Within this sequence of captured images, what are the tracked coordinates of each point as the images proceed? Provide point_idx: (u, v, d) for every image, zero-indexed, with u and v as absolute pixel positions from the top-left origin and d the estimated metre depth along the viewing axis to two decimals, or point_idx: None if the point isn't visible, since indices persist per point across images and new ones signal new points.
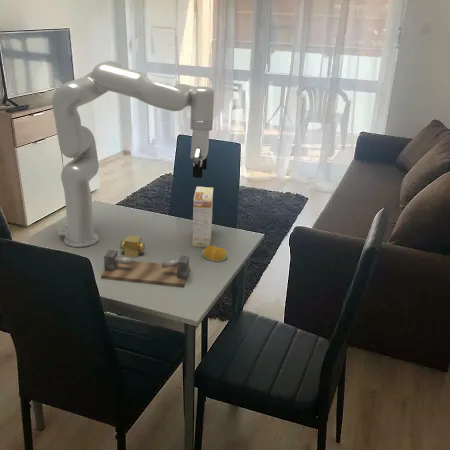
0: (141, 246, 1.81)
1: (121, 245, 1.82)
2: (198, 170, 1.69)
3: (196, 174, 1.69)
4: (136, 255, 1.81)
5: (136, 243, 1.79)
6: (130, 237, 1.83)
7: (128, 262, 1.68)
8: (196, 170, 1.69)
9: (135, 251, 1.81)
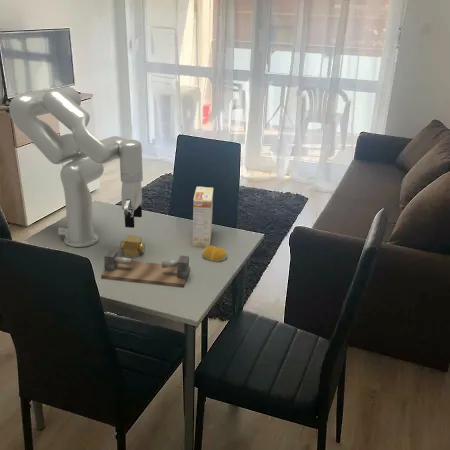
0: (141, 246, 1.81)
1: (121, 245, 1.82)
2: (129, 220, 1.72)
3: (128, 224, 1.73)
4: (136, 255, 1.81)
5: (136, 243, 1.79)
6: (130, 237, 1.83)
7: (128, 262, 1.68)
8: (127, 220, 1.72)
9: (135, 251, 1.81)
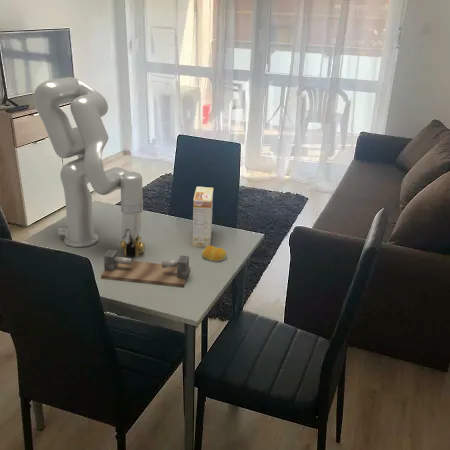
0: (141, 246, 1.81)
1: (121, 245, 1.82)
2: (131, 250, 1.79)
3: (129, 253, 1.80)
4: (136, 255, 1.81)
5: (136, 243, 1.79)
6: (130, 237, 1.82)
7: (128, 262, 1.68)
8: (129, 250, 1.79)
9: (135, 251, 1.81)
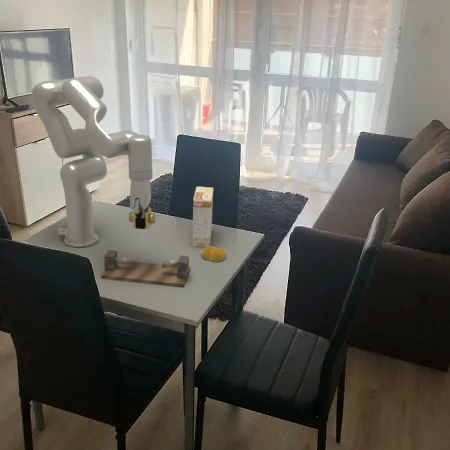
0: (152, 217, 1.66)
1: (130, 217, 1.66)
2: (140, 221, 1.64)
3: (138, 225, 1.65)
4: (146, 227, 1.66)
5: (146, 213, 1.64)
6: (139, 208, 1.67)
7: (128, 262, 1.68)
8: (138, 222, 1.64)
9: (145, 222, 1.65)
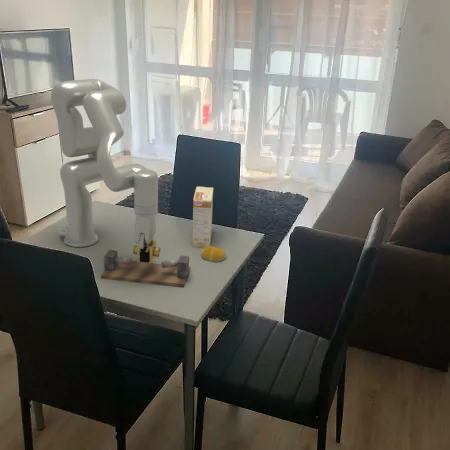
0: (156, 251, 1.65)
1: (134, 250, 1.66)
2: (144, 255, 1.63)
3: (143, 259, 1.64)
4: (151, 261, 1.65)
5: (151, 248, 1.63)
6: (144, 241, 1.67)
7: (128, 262, 1.68)
8: (142, 255, 1.63)
9: (150, 256, 1.65)
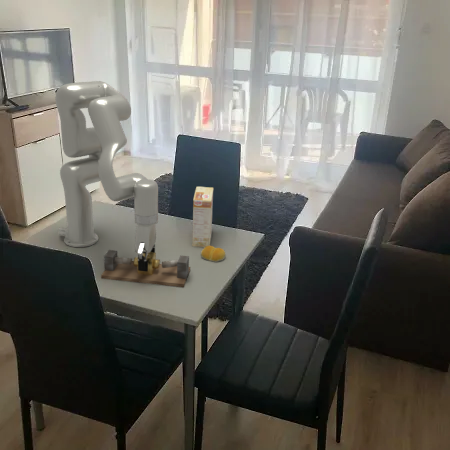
0: (156, 263, 1.67)
1: (134, 262, 1.68)
2: (143, 264, 1.63)
3: (141, 268, 1.63)
4: (151, 273, 1.67)
5: (151, 260, 1.65)
6: None
7: (128, 262, 1.68)
8: (141, 264, 1.63)
9: (150, 268, 1.67)
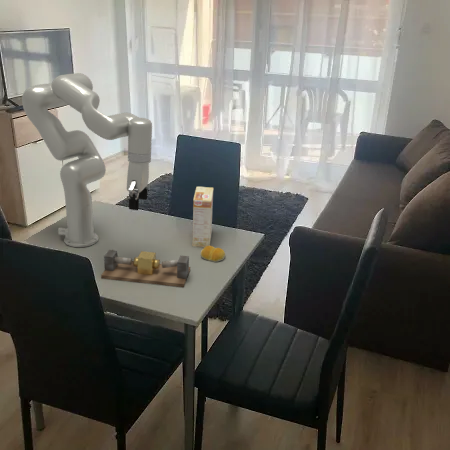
0: (156, 263, 1.67)
1: (134, 262, 1.68)
2: (134, 203, 1.64)
3: (132, 206, 1.65)
4: (151, 273, 1.67)
5: (151, 260, 1.65)
6: (144, 253, 1.69)
7: (128, 262, 1.68)
8: (132, 202, 1.64)
9: (150, 268, 1.67)
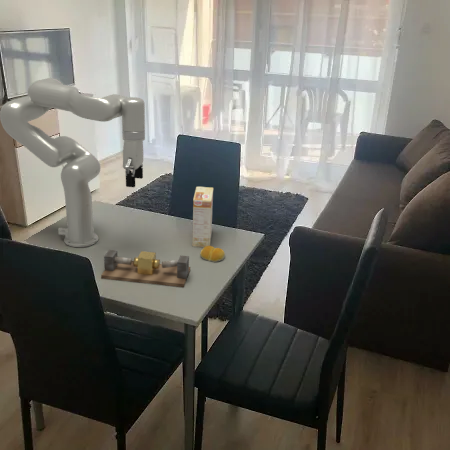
0: (156, 263, 1.67)
1: (134, 262, 1.68)
2: (130, 180, 1.71)
3: (129, 183, 1.71)
4: (151, 273, 1.67)
5: (151, 260, 1.65)
6: (144, 253, 1.69)
7: (128, 262, 1.68)
8: (128, 180, 1.71)
9: (150, 268, 1.67)
